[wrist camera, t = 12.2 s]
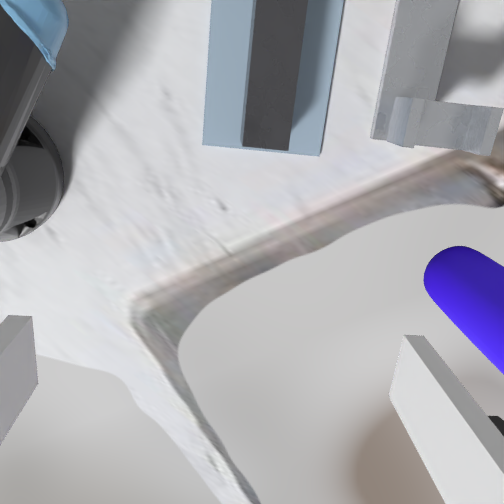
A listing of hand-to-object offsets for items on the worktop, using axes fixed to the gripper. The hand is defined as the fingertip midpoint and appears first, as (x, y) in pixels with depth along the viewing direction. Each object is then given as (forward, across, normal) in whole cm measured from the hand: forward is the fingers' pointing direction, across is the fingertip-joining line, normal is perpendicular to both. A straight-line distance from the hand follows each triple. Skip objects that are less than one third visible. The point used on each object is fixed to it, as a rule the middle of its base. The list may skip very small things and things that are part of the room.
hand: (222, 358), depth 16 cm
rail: (+36, +4, +16) cm, 39 cm away
